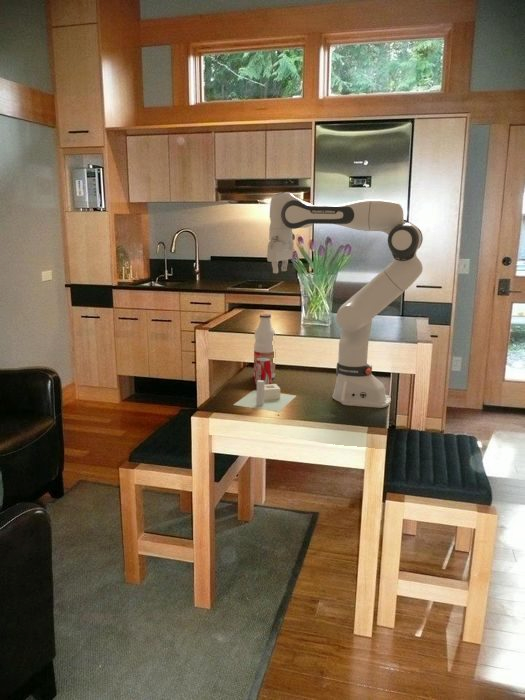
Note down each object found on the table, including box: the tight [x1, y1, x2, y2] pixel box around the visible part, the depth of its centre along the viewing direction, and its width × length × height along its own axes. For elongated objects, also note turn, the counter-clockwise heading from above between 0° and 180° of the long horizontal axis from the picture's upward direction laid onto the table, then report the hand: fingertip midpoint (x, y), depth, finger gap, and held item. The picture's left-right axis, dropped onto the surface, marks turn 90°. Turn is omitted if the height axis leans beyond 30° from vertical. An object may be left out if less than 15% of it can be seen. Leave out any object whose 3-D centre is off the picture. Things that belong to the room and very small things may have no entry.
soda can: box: [254, 357, 273, 386], centre depth 229 cm, size 7×7×12 cm
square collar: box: [264, 383, 281, 400], centre depth 212 cm, size 6×6×4 cm
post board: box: [233, 380, 297, 417], centre depth 208 cm, size 18×20×10 cm
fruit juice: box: [253, 313, 276, 379], centre depth 242 cm, size 9×9×28 cm
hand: (279, 272), depth 217 cm, fingers open, 8 cm apart
